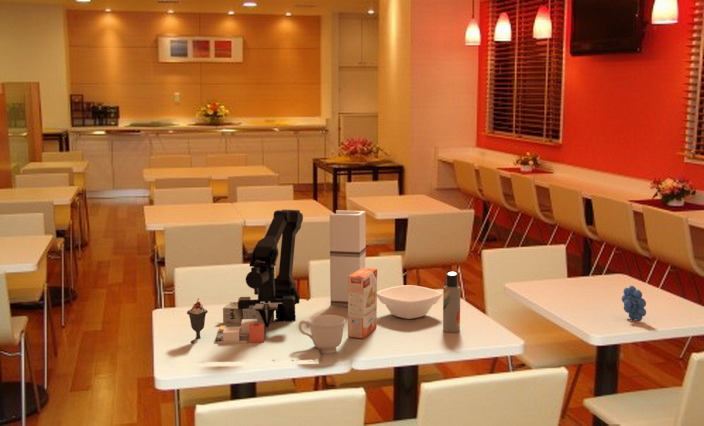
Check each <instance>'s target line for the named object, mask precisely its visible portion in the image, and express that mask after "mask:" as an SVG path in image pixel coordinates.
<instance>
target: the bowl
mask: <svg viewBox="0 0 704 426" xmlns="http://www.w3.org/2000/svg"><path fill="white" fill-rule="evenodd" d="M441 297H443V293H442V292H441V291H439V290H436V289H432V288H430V287H425V286H419V285H414V284H413V285H412V284H406V285H405V284H404V285H398V286H397V285H396V286H392V287H388V288H384V289H383V288H382V289H381V290H377V299H378V300H379V301H380V303H382V304H383V305H385V307H386V308H387V310H388V311H389V313H390V314H391V315H393V316H395V317H399V318H403V319H408V320H410V319H417V318H421V317H424V316H426V315H427V314H428V313H429V311H430V310H431V309H432V307H433V306H434V305H436V304H437V303H438V302H439V300H440V299H441Z"/></svg>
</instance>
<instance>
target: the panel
mask: <svg viewBox="0 0 704 426" xmlns="http://www.w3.org/2000/svg"><path fill="white" fill-rule="evenodd" d="M224 328H240V340H239V341H223V331H224ZM266 332H267V328H266V326H265V324H264V342H249V332H241V324H237V325H236V324H232V325H231V324H230V325H229V324H228V325H219V328H218V330H217V334H216V336H215V338H214V341H213V345H222V344H223V345H224V344H256V343H257V344H262V343H263V344H264V343H265V339H266Z"/></svg>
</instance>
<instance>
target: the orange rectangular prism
mask: <svg viewBox="0 0 704 426" xmlns="http://www.w3.org/2000/svg"><path fill="white" fill-rule="evenodd" d="M264 325H265V324H264V323H258V322H255V323H250V325H249V342H264V343H265V340H264Z"/></svg>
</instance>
